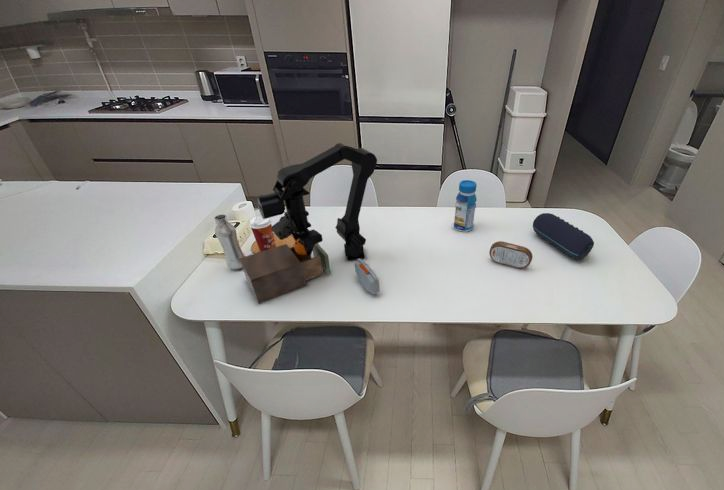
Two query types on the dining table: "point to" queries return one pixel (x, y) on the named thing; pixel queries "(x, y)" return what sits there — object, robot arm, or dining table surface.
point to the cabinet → (273, 272)
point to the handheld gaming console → (367, 276)
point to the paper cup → (263, 232)
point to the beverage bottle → (465, 206)
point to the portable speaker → (563, 235)
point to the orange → (299, 248)
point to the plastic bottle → (228, 241)
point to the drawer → (313, 262)
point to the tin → (510, 254)
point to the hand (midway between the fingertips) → (304, 250)
